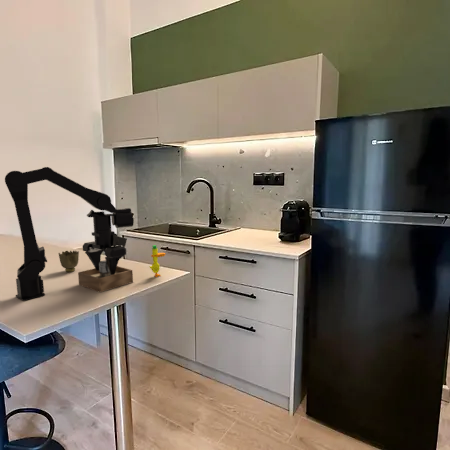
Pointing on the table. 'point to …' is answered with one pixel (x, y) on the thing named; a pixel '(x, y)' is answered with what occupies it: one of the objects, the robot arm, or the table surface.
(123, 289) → the table surface
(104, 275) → the metal peg
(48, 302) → the table surface
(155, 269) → the toy figure
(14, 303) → the table surface
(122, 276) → the walnut box
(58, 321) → the table surface
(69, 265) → the cup
